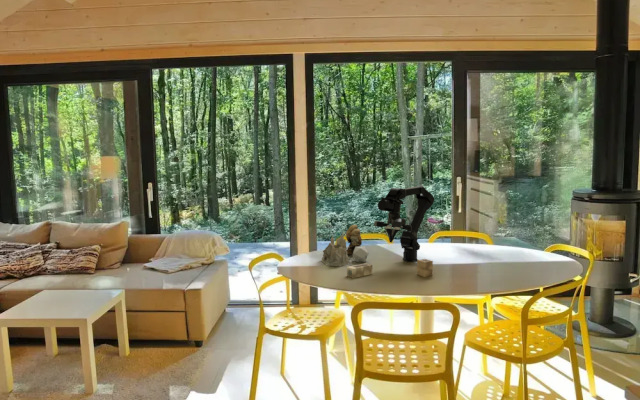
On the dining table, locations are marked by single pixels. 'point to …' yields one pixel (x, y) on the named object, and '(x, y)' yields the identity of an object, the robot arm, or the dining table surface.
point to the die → (360, 254)
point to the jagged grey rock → (336, 253)
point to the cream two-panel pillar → (359, 270)
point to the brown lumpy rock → (353, 239)
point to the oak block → (424, 267)
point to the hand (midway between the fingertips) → (390, 242)
